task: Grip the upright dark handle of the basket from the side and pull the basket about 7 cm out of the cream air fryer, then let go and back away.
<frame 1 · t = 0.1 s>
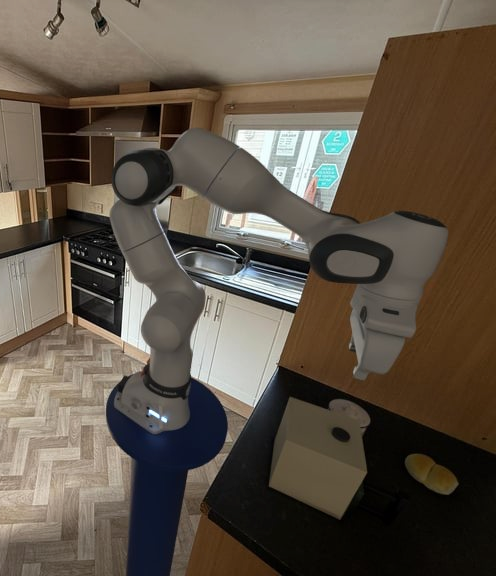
hand: (355, 362, 63), 32 cm above the worktop, tool pointing down, fingers open, 8 cm apart
bread roll: (428, 477, 75), on the worktop
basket: (335, 469, 70), point 6 cm above the worktop, slide at 0.0 cm
air fryer: (303, 475, 75), on the worktop
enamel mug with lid: (338, 432, 86), on the worktop
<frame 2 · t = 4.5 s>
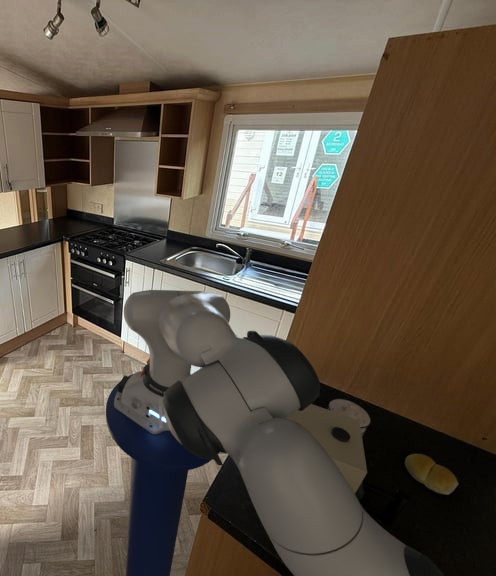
hand: (409, 573, 53), 7 cm above the worktop, tool horizontal, fingers open, 8 cm apart
nothing on the worktop moved.
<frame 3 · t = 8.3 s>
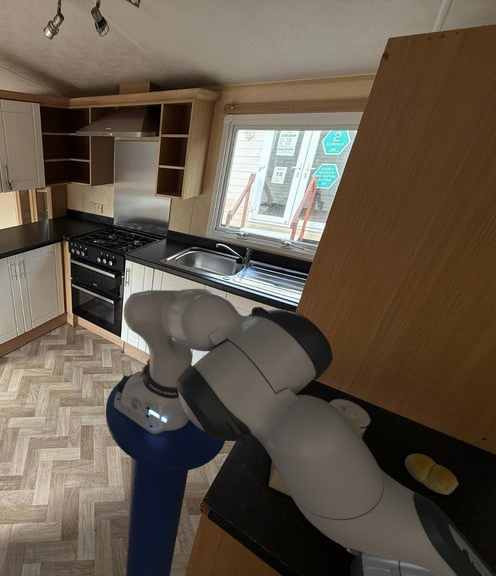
hand: (393, 507, 63), 6 cm above the worktop, tool horizontal, fingers closed on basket, 2 cm apart
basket: (336, 469, 70), point 6 cm above the worktop, slide at 0.1 cm, touching gripper
everything else where it was.
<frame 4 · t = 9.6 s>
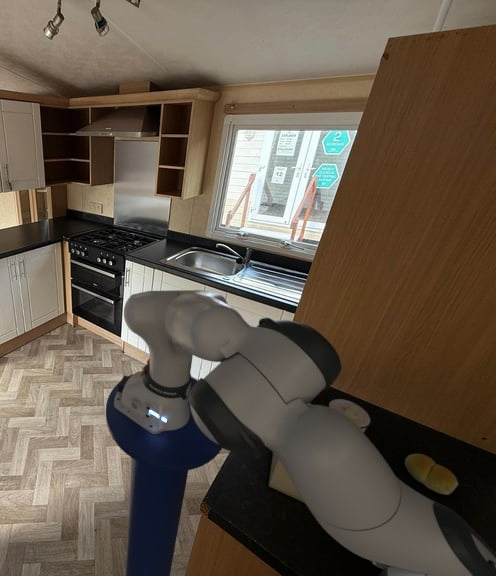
hand: (417, 517, 61), 6 cm above the worktop, tool horizontal, fingers closed on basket, 2 cm apart
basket: (356, 478, 68), point 6 cm above the worktop, slide at 3.8 cm, touching gripper
everything else where it was.
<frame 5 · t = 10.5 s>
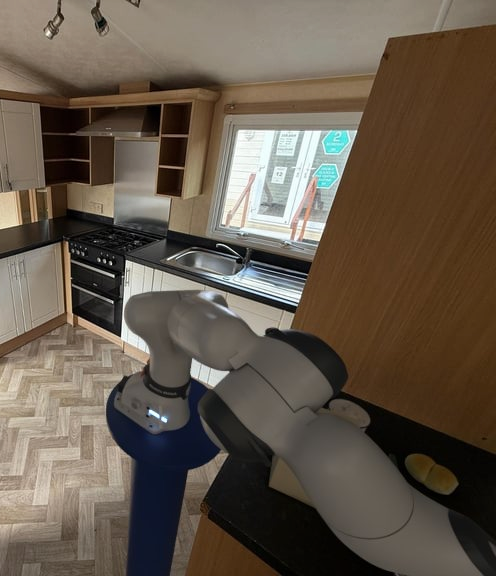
hand: (439, 526, 60), 6 cm above the worktop, tool horizontal, fingers closed on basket, 2 cm apart
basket: (374, 485, 67), point 6 cm above the worktop, slide at 7.0 cm, touching gripper
everything else where it was.
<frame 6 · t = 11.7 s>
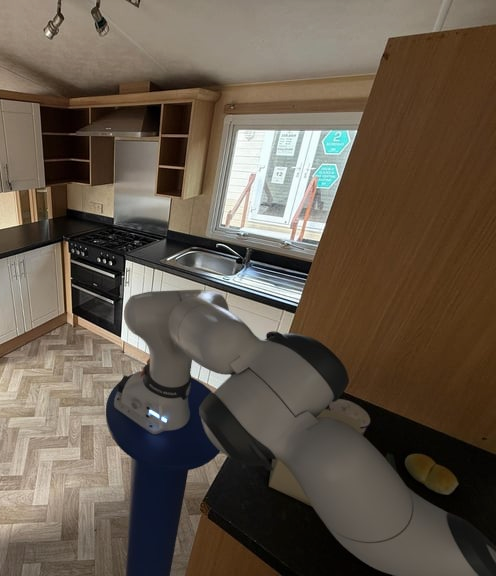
hand: (436, 526, 60), 5 cm above the worktop, tool horizontal, fingers open, 8 cm apart
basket: (371, 484, 67), point 6 cm above the worktop, slide at 6.6 cm
everything else where it was.
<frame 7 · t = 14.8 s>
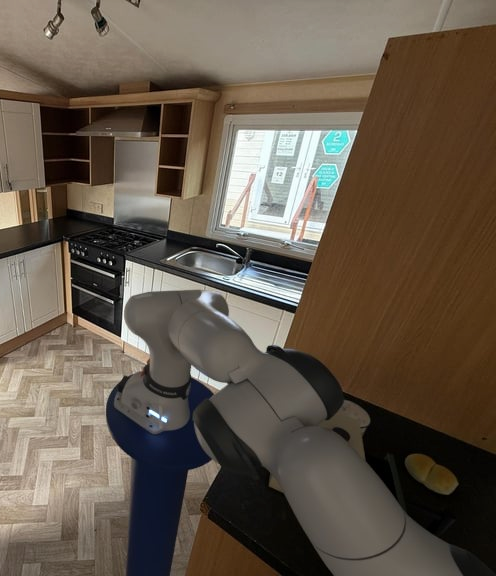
nothing on the worktop moved.
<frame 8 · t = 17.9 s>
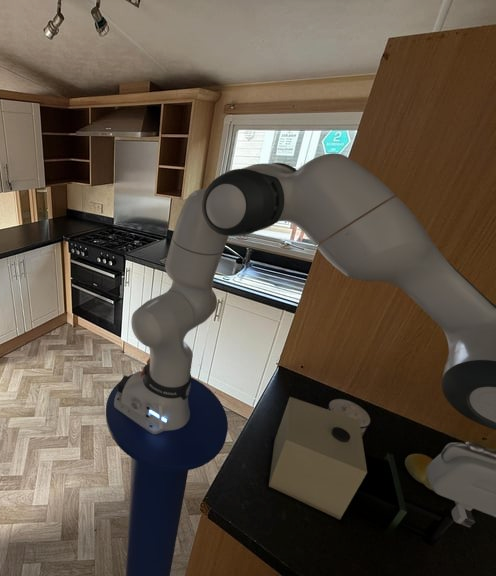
nothing on the worktop moved.
at the end: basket slide at 6.6 cm; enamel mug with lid moved 0.2 cm from its start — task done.
